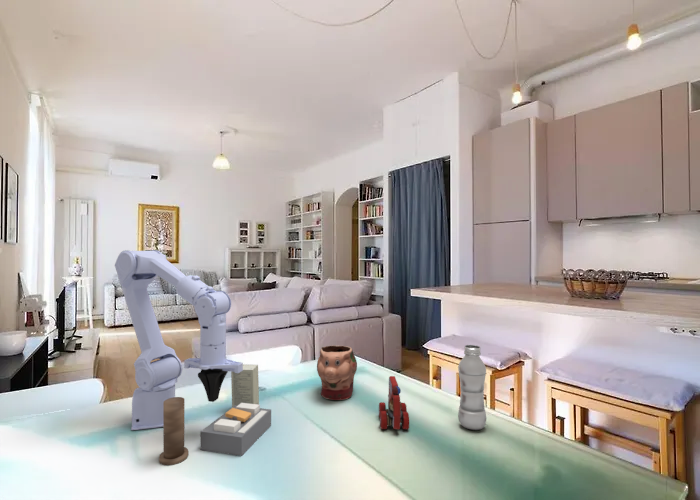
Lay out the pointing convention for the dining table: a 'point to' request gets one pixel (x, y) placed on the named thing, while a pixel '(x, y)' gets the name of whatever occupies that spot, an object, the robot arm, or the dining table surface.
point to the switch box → (236, 431)
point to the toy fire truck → (393, 408)
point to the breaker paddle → (238, 415)
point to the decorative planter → (336, 371)
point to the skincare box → (245, 386)
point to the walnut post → (173, 432)
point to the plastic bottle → (472, 389)
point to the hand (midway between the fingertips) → (213, 399)
